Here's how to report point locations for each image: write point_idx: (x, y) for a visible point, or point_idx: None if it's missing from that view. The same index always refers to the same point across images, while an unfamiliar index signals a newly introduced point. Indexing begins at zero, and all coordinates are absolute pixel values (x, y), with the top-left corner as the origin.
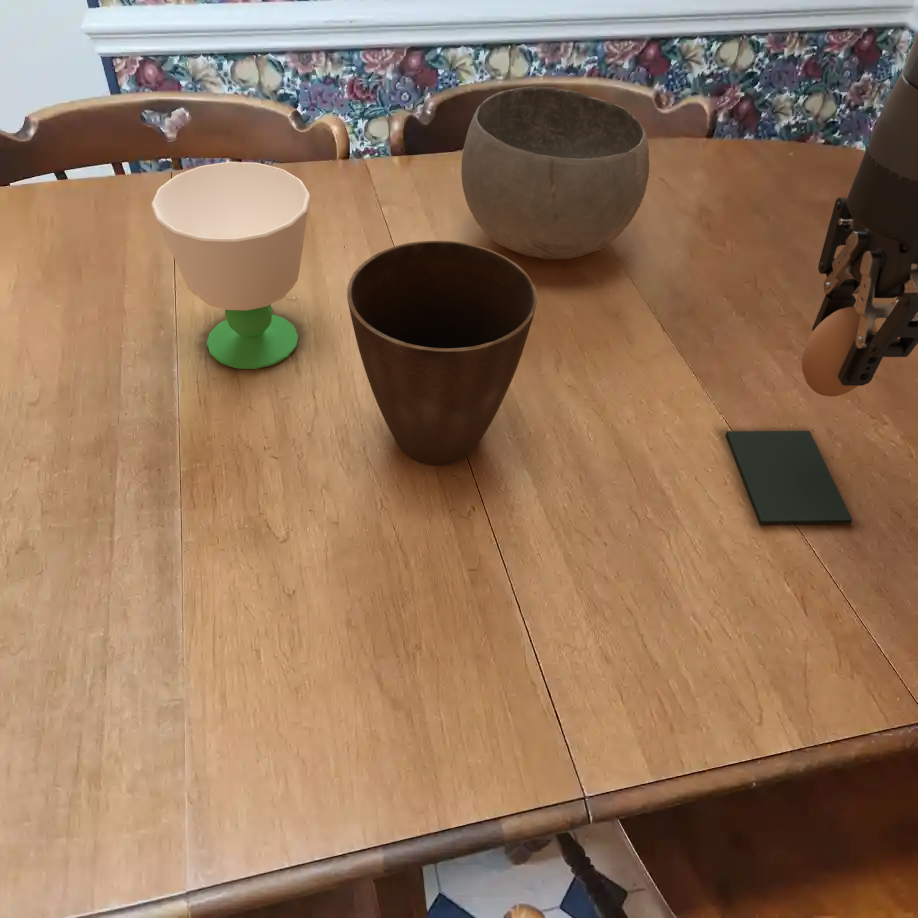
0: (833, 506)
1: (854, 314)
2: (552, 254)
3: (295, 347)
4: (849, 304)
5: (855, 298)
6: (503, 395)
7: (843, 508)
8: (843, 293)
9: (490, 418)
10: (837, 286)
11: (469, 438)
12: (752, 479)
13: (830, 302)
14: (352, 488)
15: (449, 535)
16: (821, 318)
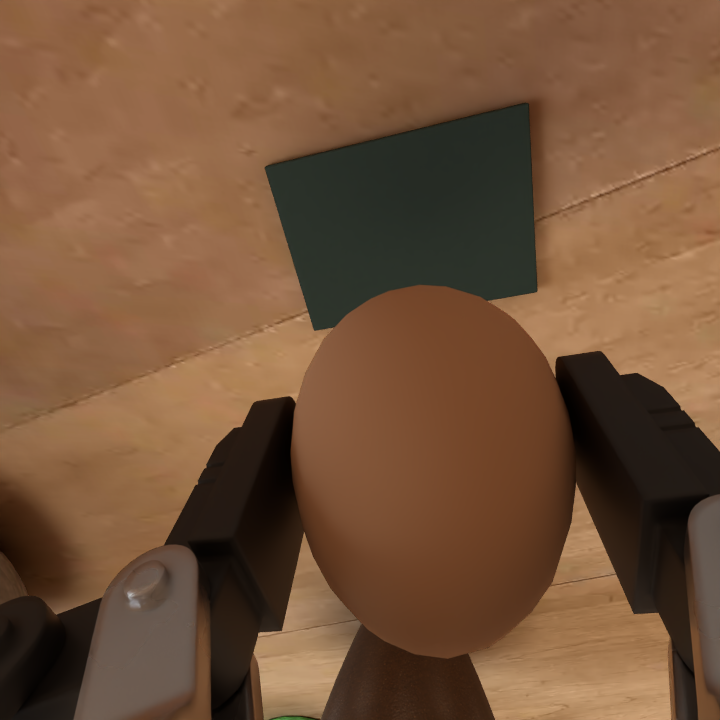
0: (490, 143)
1: (468, 649)
2: (17, 586)
3: (301, 718)
4: (253, 533)
5: (219, 539)
6: (450, 711)
7: (494, 119)
8: (237, 620)
9: (453, 676)
10: (257, 717)
11: (467, 666)
12: None
13: (280, 608)
14: (494, 675)
15: (559, 615)
16: (300, 536)
